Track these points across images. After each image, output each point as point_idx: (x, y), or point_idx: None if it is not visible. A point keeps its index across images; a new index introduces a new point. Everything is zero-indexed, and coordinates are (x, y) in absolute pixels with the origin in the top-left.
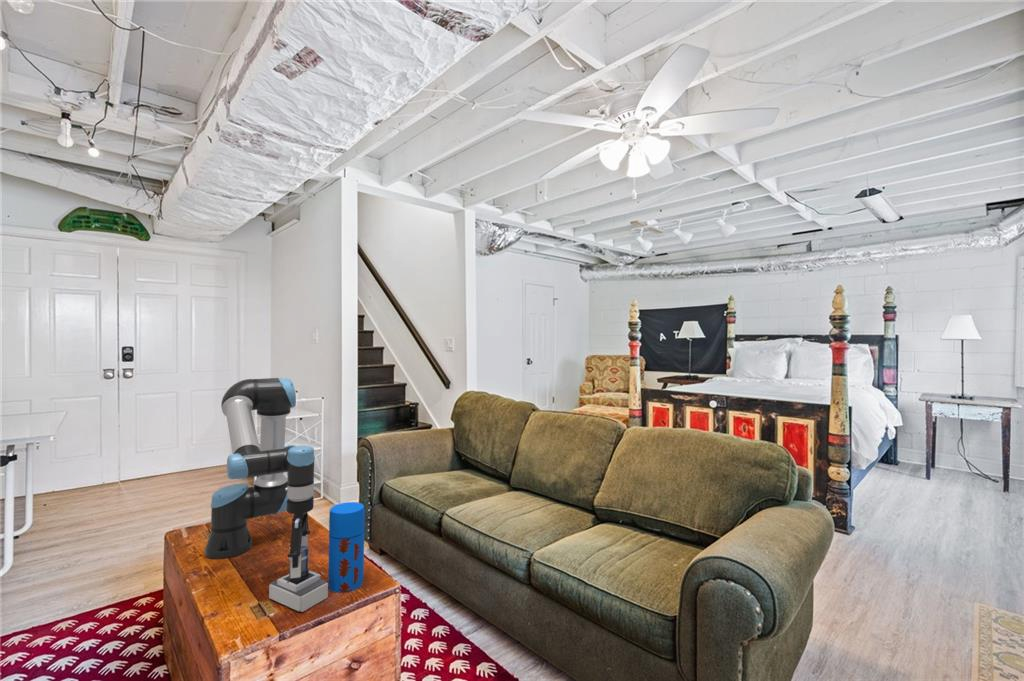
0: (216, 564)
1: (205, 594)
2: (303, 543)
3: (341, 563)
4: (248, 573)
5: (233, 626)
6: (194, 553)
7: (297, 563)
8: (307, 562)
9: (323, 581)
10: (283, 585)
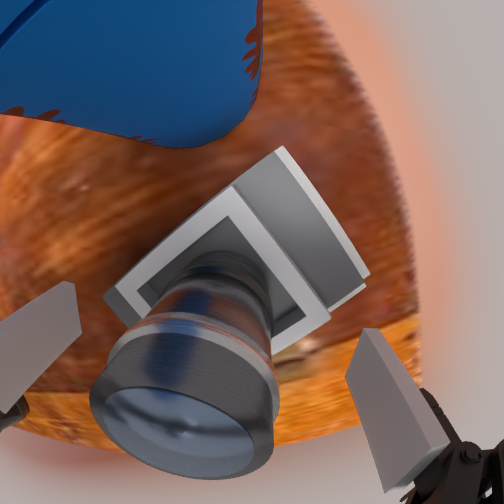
0: (42, 410)
1: None
2: (22, 351)
3: (253, 38)
4: (62, 379)
5: (319, 413)
6: (23, 420)
7: (441, 410)
8: (226, 303)
9: (268, 167)
10: None
